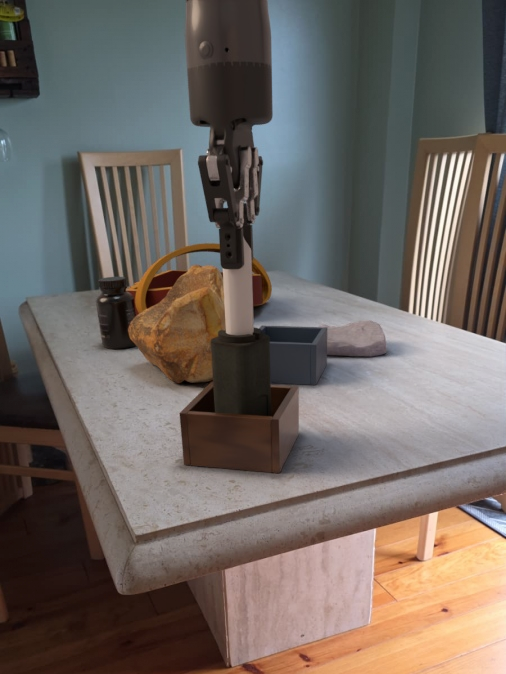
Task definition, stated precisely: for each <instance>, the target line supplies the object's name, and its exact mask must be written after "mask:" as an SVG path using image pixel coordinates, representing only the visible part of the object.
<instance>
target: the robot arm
mask: <svg viewBox="0 0 506 674" xmlns="http://www.w3.org/2000/svg"><path fill="white" fill-rule="evenodd" d="M184 23H185V24H184V43H185V44H184V45H185V59H186V60H185V61H186V74H187V75H186V76H187V90H188V104H189V105H188V106H189V118H190V123H192V124H193V125H194V126H196V127H201V128H209V136H208V137H209V139H208V148H207V150H206V154H204V155H203V154H201V155H200V154H199V156H198V158H197V166H198V170H199V175H200V180H201V186H202V190H203V191H202V192H203V195H204V201H205V206H206V211H207V216H208V220H209V222H210V223H214V224H215V228H216V229H218V239H219V240H218V241H219V244H220V253H219V258H220V267H221V268H222V270H223V269H240V268H242V267H243V266H244V241H243V236H244V239H245V241H246V242H247V244H248V245H249V247H250V248H251V260H252V261H253V257H254V237H253V236H254V231H253V225H254V224H255V222H256V218H257V216H259V215H260V211H261V209H260V203H261V190H262V179H263V177H262V176H263V165H264V159H263V157H262V156H261V155H259V148H258V147H257V146H255V141H254V134H253V127H254V126H261V125H266V124H269V123H270V122H271V121H272V119H273V116H274V115H273V114H274V113H273V112H274V111H273V65H272V64H273V62H272V59H273V58H272V30H271V21H270V14H269V3H268V0H185V21H184ZM225 203H226V206H227V207H224V204H225Z"/></svg>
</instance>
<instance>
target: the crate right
mask: <svg viewBox="0 0 506 674" xmlns="http://www.w3.org/2000/svg"><path fill="white" fill-rule="evenodd" d="M258 328H259V329H261V330H262V334H264V335H268V336H269V337H270V379H271V384H287V385H288V384H289V385H306V386H307V385H309V386H311V385H312V386H317V384H318V383H319V381H320V378H321V376H322V374H323V372H324V371H325V369H326V367H327V364H328V355H327V329H328V328H327V327H323V328H322V327H318V326H293V325H291V326H290V325H261V326H259V327H258Z"/></svg>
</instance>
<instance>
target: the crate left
mask: <svg viewBox="0 0 506 674" xmlns="http://www.w3.org/2000/svg"><path fill="white" fill-rule="evenodd" d="M299 404H300V387H299V386H298V385H279V384H271V416H257V415H241V414H226V413H215V404H214V388H213V381H210V382H209V383H208V385H206V386H205V387H204V388H203V389H202V390H201V391H200V392H199V393H198V394H197V395H195V397H194V398H193V399H192V400H191V401H190V402H189V403H188V404H187V405H186V406H185V407H184V408H183V409H182V410H181V411H180V412H179V422H180V423H179V424H180V425H179V426H180V433H181V434H180V435H181V448H182V458H183V459H182V460H183V465H184V466H194V467H205V468H216V469H226V470H227V469H228V470H238V471H239V470H240V471H249V472H250V471H251V472H263V473H273V474H280V473H281V471H282V470H283V467H284V465H285V463H286V461H287V459H288V457H289V455H290V453H291V451H292V449H293V447H294V444H295V443H296V440H297V439H298V436H299V434H300V405H299Z"/></svg>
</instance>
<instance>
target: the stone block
mask: <svg viewBox="0 0 506 674" xmlns="http://www.w3.org/2000/svg"><path fill="white" fill-rule="evenodd" d="M317 327H322V328H323V327H327V328H328V329H327V356H343V357H377V356H382V355H384V354H386V353H387V350H388V349H387V348H388V347H387V346H388V345H387V340H386V335H385V332H384V330H383V328H382V326H381V324H380V323H378V322H377V321H376V322H375V321H372V320H361V321H360V320H359V321H356V322H350V323H347V324H345V325H341V326H335V325H334V326H330V325H327V324H320V325H318V326H317Z"/></svg>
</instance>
